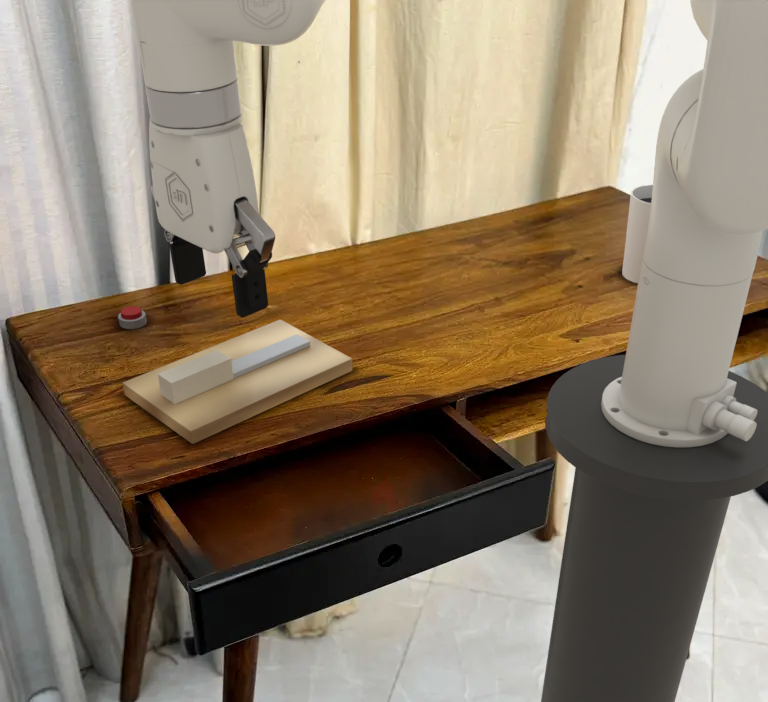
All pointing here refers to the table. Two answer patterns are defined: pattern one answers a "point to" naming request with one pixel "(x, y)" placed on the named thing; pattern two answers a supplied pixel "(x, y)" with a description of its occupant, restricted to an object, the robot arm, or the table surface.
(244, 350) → the cutting board
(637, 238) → the white cup
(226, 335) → the table surface
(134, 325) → the push button
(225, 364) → the knife
